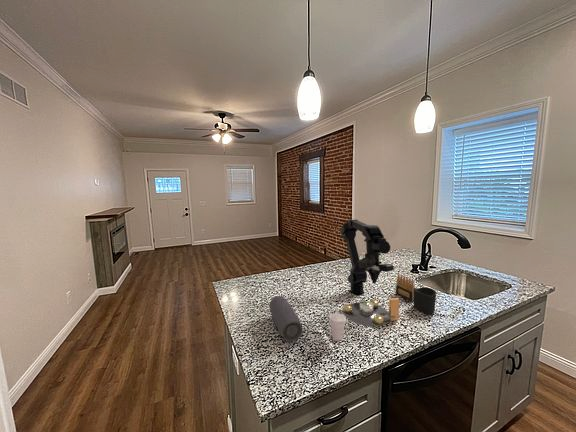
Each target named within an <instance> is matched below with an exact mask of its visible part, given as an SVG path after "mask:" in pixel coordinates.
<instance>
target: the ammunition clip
mask: <svg viewBox="0 0 576 432" xmlns="http://www.w3.org/2000/svg"><path fill="white" fill-rule="evenodd" d="M414 288H415V280H414V279H413V278H411V277H408V276H405V275H404V274H400V272H398V273H397V278H396V285H395V294H396V295H397V296H399V297H402V298H403V299H406V300H407V301H409V302H414Z"/></svg>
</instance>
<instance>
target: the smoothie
mask: <svg viewBox="0 0 576 432" xmlns="http://www.w3.org/2000/svg"><path fill="white" fill-rule="evenodd" d="M329 321H330V330H331V338H332V339H333V340H334V341H336V342H339V341H342V340H343V338H344V333H345V325H346V322H347V318H346V317H345V315H344V313H340V312H338V306H337V305H335V313H334V312H333V313H331V314H330V315H329Z"/></svg>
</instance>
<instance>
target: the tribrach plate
mask: <svg viewBox="0 0 576 432" xmlns="http://www.w3.org/2000/svg"><path fill="white" fill-rule="evenodd" d="M342 314H343V315H344V316H345V317H346V319H348V320H349V321H351V322H353V323H355V324H357V325H360V326H365V327H381V326H382V327H383V326H385V325H386V324H389V323H390V321H389V319H387V320H383V325H376V324H374V322H373V317H374V315H381V316H384V315H389V310H388V311H387V309H385V308H384V307H382V306H379V301H378V300H376V299H370V300H369V301H366V300H363V301H360V302H352V303H349V304H348V303H345V304H343V305H342Z"/></svg>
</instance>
